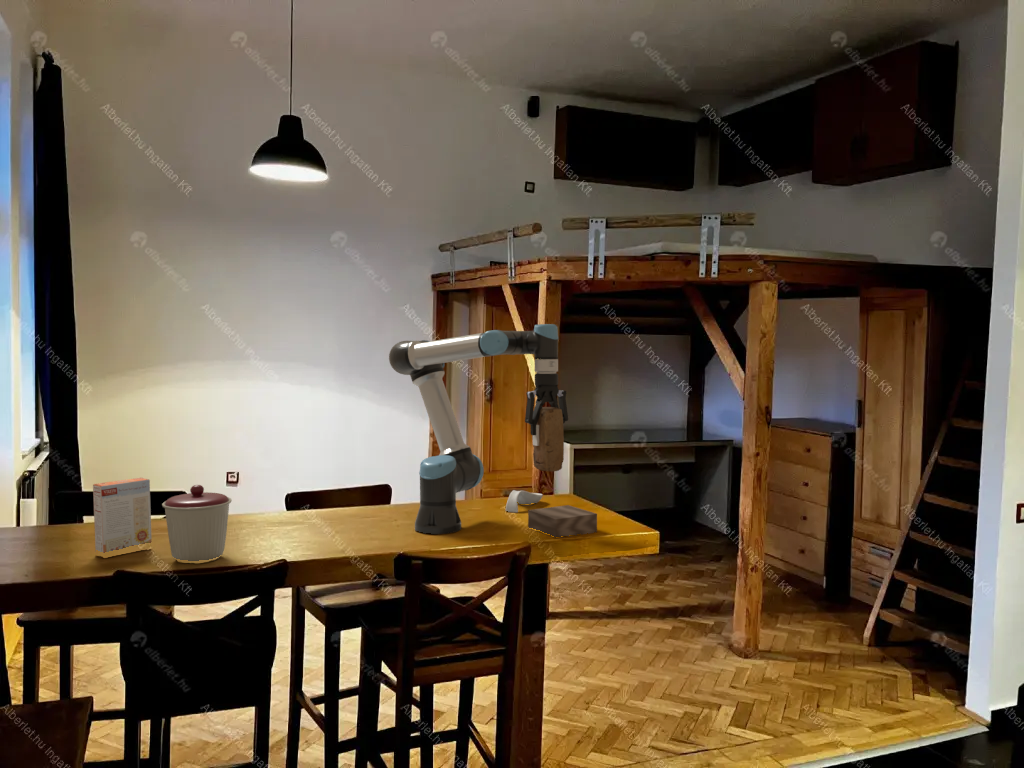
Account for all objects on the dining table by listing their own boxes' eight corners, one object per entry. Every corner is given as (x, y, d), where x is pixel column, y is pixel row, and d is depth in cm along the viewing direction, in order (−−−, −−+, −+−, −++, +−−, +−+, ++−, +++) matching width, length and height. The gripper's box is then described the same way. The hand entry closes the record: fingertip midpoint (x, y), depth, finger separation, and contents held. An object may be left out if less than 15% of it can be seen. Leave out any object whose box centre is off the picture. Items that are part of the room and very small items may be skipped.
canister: (226, 548, 239) (225, 477, 238) (237, 563, 223) (236, 487, 222) (160, 556, 230) (158, 482, 229) (166, 572, 214) (165, 493, 213)
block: (565, 471, 255) (565, 408, 254) (544, 473, 252) (544, 408, 251) (549, 466, 265) (549, 405, 264) (529, 468, 262) (528, 406, 261)
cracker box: (142, 546, 241) (141, 476, 240) (152, 549, 237) (151, 478, 236) (94, 555, 230) (92, 483, 229) (103, 559, 226) (101, 485, 225)
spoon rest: (517, 500, 315) (517, 481, 314) (546, 502, 311) (546, 483, 311) (496, 512, 292) (496, 492, 292) (527, 514, 289) (527, 494, 288)
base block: (555, 538, 252) (556, 519, 252) (528, 528, 266) (528, 510, 265) (596, 532, 260) (597, 513, 260) (568, 522, 274) (568, 505, 274)
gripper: (524, 373, 249) (525, 447, 250) (579, 372, 259) (580, 443, 260) (512, 373, 255) (513, 445, 256) (566, 371, 265) (567, 441, 266)
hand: (546, 444), depth 258 cm, fingers closed on block, 7 cm apart
